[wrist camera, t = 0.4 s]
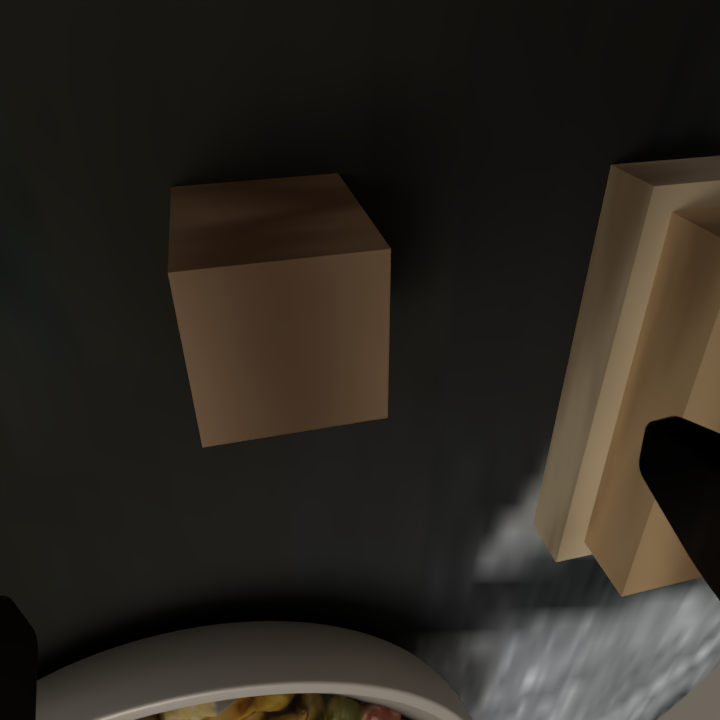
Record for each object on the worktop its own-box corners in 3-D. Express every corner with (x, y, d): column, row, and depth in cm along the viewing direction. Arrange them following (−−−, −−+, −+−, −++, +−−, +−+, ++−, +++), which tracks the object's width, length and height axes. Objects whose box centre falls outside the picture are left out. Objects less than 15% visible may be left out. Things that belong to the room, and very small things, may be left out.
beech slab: (835, 140, 24) (911, 162, 21) (696, 481, 34) (736, 523, 31) (601, 159, 22) (653, 186, 19) (527, 515, 32) (555, 562, 29)
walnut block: (337, 172, 19) (390, 248, 14) (341, 314, 22) (387, 417, 17) (171, 186, 18) (167, 272, 13) (197, 331, 21) (202, 447, 16)
